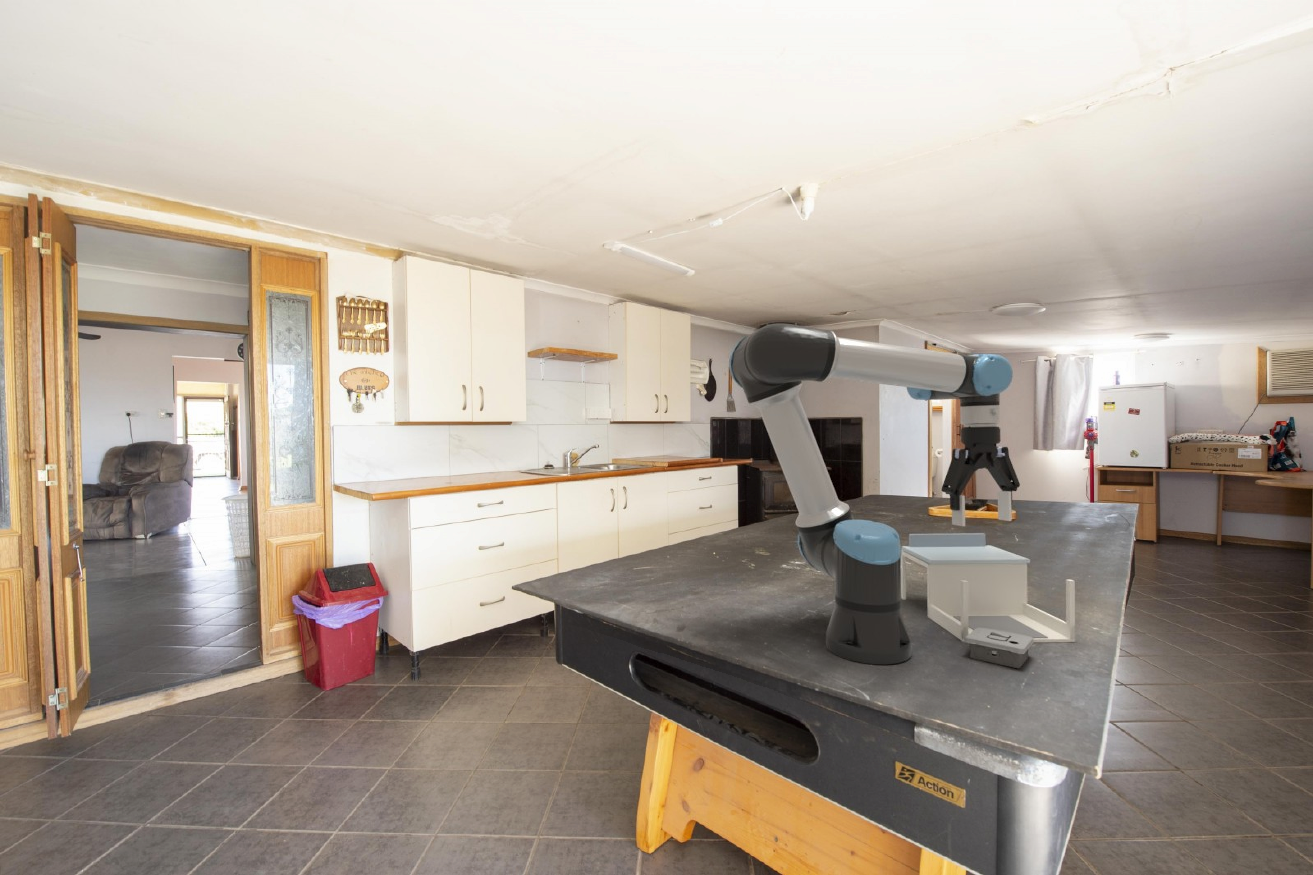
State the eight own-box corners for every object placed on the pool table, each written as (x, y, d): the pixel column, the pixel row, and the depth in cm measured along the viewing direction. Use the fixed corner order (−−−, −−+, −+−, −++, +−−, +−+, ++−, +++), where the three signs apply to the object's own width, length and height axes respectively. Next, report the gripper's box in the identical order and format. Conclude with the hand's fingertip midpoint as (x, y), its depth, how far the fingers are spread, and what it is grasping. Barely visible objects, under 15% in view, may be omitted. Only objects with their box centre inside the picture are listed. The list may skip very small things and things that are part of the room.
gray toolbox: (1025, 650, 97) (966, 628, 103) (1018, 679, 98) (960, 655, 104) (1036, 637, 104) (980, 618, 110) (1030, 664, 104) (974, 643, 111)
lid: (930, 563, 125) (930, 546, 125) (901, 549, 140) (901, 534, 140) (1029, 563, 124) (1029, 545, 124) (990, 548, 140) (990, 533, 140)
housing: (963, 642, 111) (963, 581, 111) (901, 598, 141) (901, 550, 140) (1075, 642, 111) (1074, 580, 111) (989, 598, 140) (989, 549, 140)
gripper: (950, 427, 117) (953, 530, 117) (1037, 424, 125) (1039, 520, 125) (922, 427, 124) (924, 524, 124) (1006, 424, 132) (1007, 515, 133)
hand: (982, 522), depth 125 cm, fingers open, 13 cm apart
